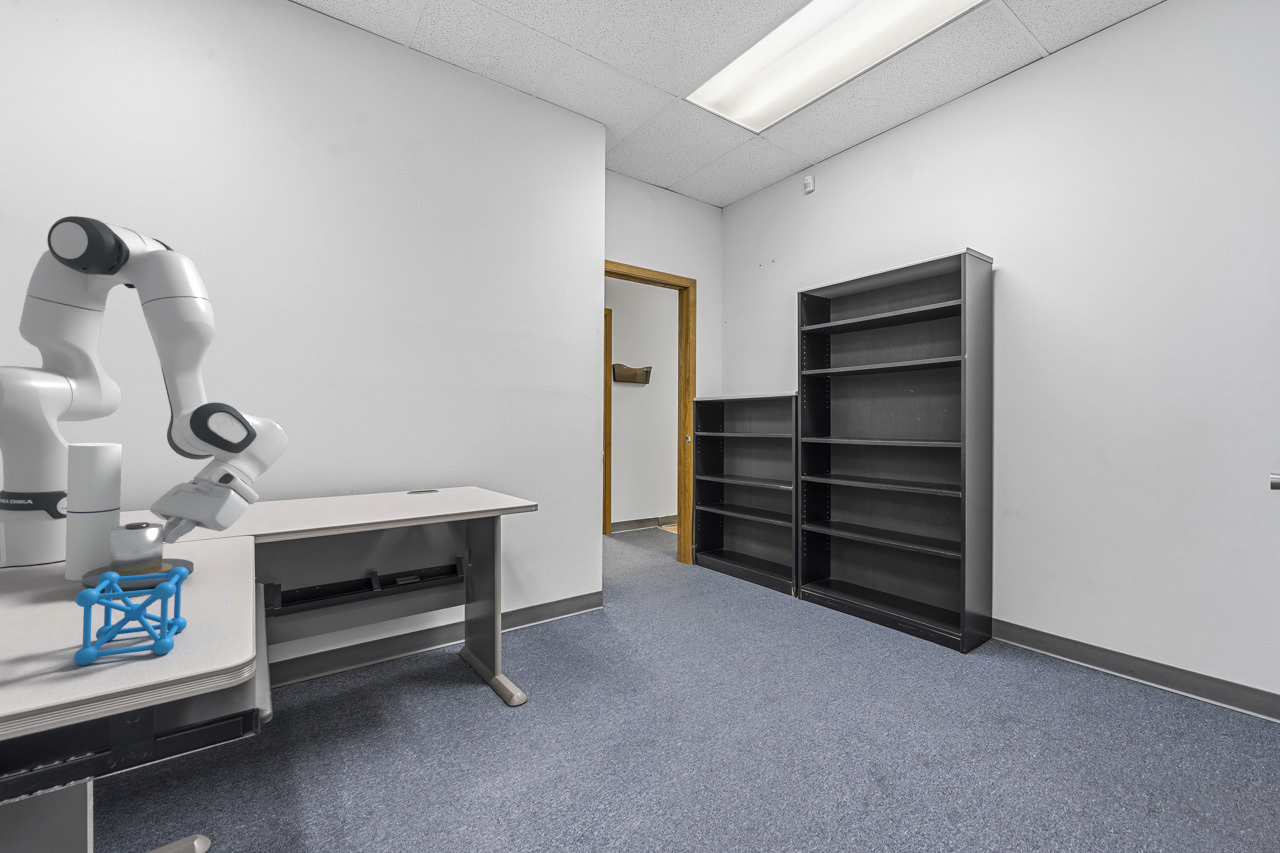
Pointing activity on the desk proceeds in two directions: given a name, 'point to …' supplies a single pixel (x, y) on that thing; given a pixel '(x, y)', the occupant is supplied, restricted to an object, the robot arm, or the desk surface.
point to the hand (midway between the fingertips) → (163, 541)
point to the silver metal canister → (136, 548)
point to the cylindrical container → (91, 505)
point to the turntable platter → (167, 565)
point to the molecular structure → (131, 614)
